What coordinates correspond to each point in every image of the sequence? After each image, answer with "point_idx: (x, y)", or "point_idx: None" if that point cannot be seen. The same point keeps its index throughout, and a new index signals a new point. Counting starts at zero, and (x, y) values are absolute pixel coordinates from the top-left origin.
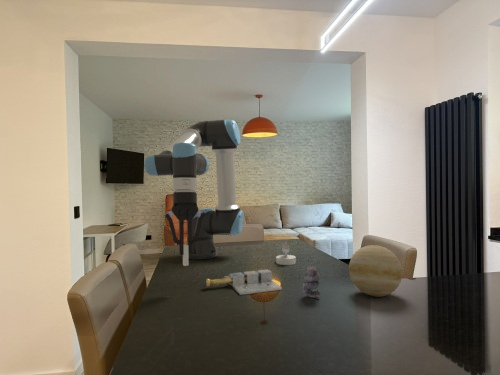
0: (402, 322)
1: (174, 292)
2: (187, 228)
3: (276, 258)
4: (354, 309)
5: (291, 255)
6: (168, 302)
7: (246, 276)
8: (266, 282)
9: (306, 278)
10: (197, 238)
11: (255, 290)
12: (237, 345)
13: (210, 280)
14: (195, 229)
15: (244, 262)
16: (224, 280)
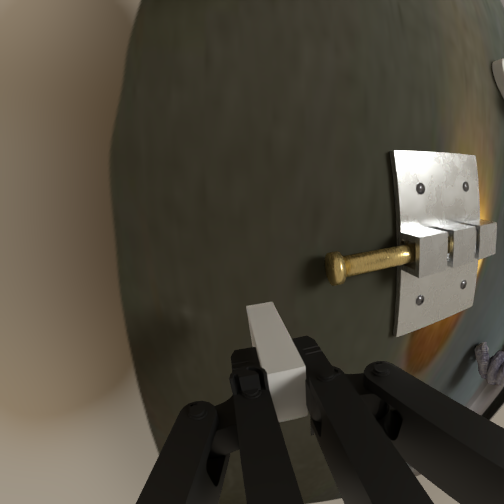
0: None
1: (205, 278)
2: (354, 501)
3: (502, 72)
4: (476, 390)
5: None
6: (197, 364)
7: (448, 250)
8: (467, 263)
9: (488, 379)
10: (392, 418)
11: (429, 324)
12: (312, 485)
13: (346, 273)
14: (429, 450)
15: (432, 15)
16: (389, 267)
